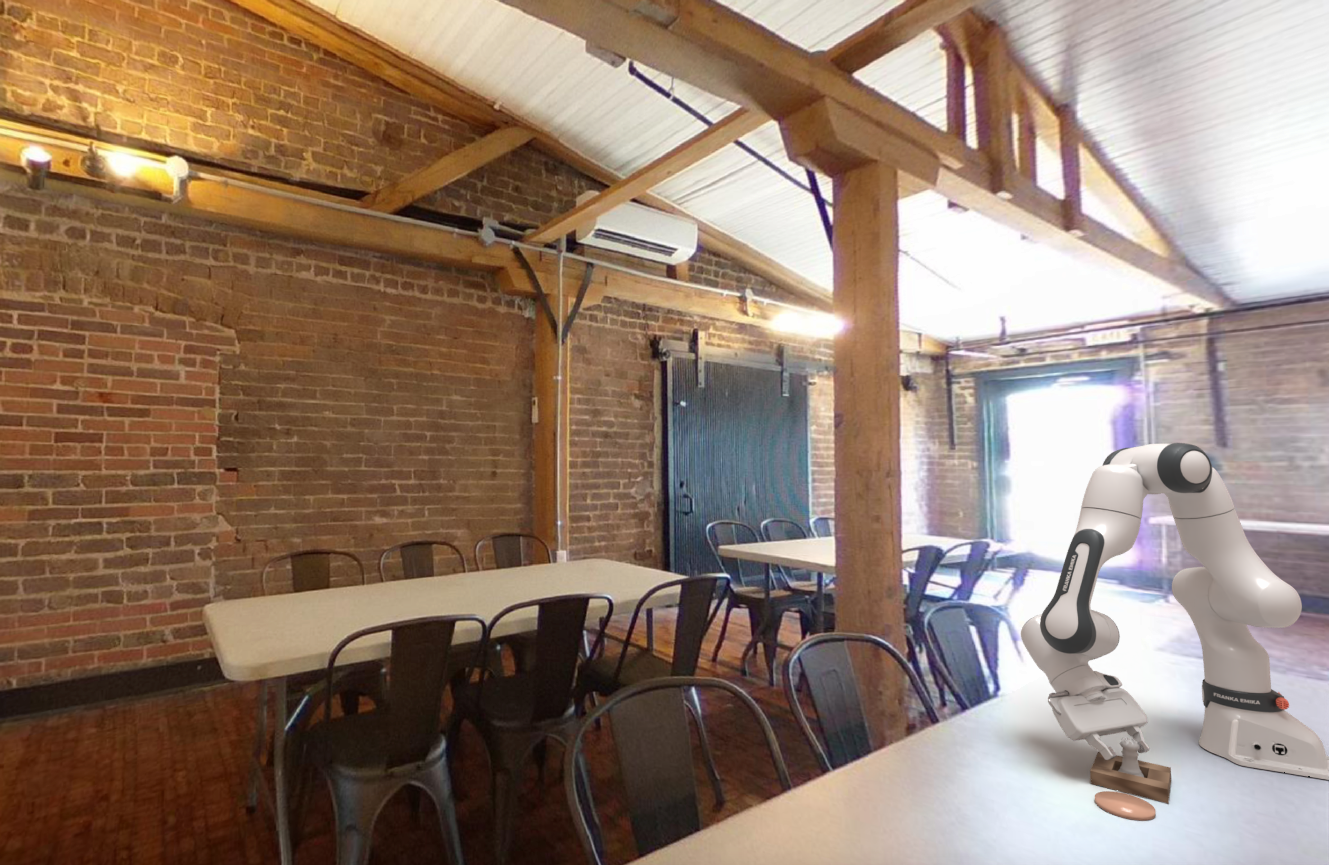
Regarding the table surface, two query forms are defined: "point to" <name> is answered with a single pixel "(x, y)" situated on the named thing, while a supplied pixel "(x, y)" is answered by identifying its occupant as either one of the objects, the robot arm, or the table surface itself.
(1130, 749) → the rook chess piece
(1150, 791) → the socket block
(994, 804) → the table surface
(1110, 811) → the coaster
